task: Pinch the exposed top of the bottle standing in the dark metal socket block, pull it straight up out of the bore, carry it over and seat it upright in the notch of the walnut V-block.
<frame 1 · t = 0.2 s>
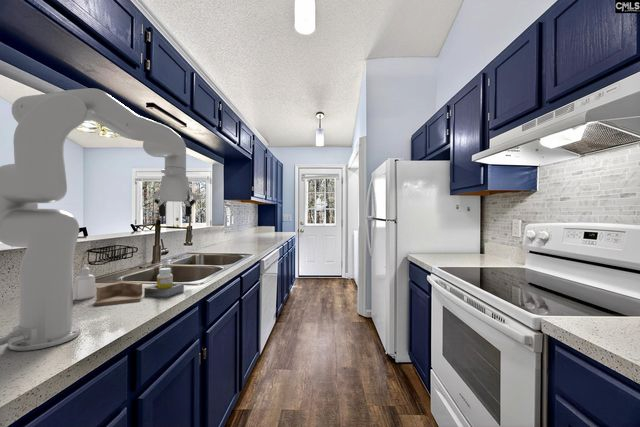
hand: (175, 216, 115), 30 cm above the counter, tool pointing down, fingers open, 9 cm apart
supplement bottle: (164, 294, 112), resting in socket block
socket block: (164, 293, 112), on the counter
v block: (120, 299, 104), on the counter
eye dropper bottle: (84, 298, 105), on the counter
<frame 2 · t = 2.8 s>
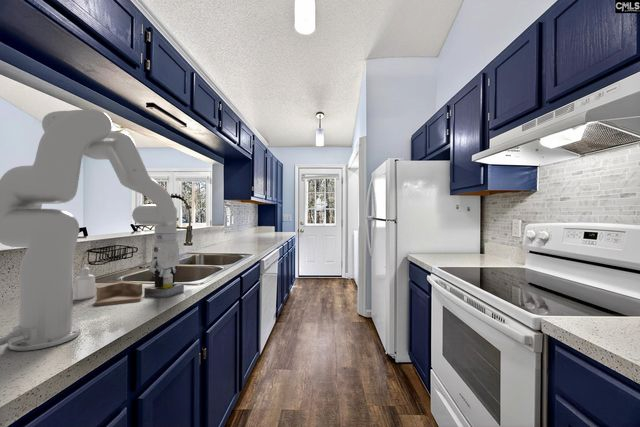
hand: (164, 284, 112), 4 cm above the counter, tool pointing down, fingers closed on supplement bottle, 5 cm apart
supplement bottle: (164, 294, 112), resting in socket block, touching gripper
everything else where it was.
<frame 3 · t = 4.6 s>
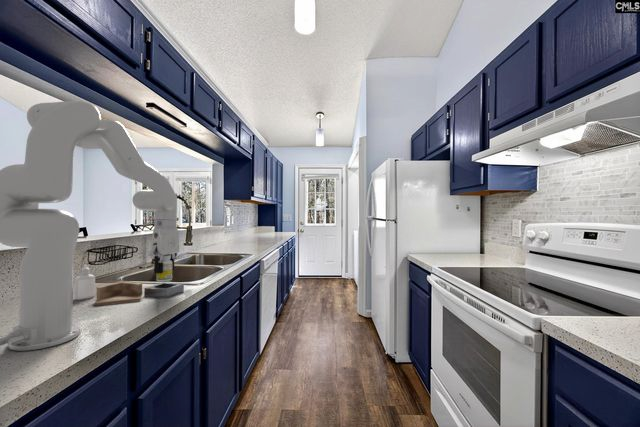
hand: (164, 271, 112), 9 cm above the counter, tool pointing down, fingers closed on supplement bottle, 5 cm apart
supplement bottle: (164, 281, 112), point 5 cm above the counter, touching gripper
everything else where it was.
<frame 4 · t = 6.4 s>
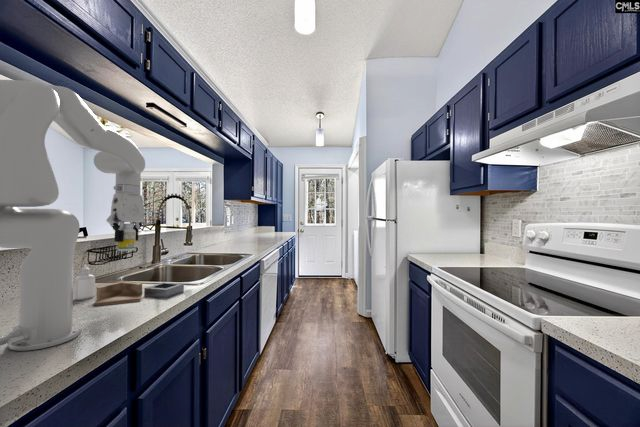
hand: (126, 240, 105), 21 cm above the counter, tool pointing down, fingers closed on supplement bottle, 5 cm apart
supplement bottle: (126, 250, 105), point 17 cm above the counter, touching gripper
everything else where it was.
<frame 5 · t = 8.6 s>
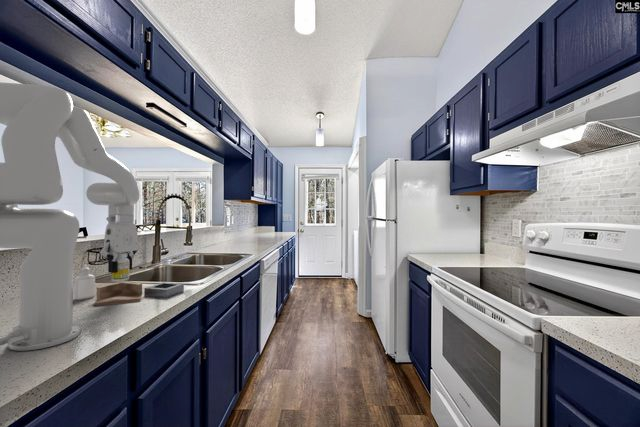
hand: (120, 270, 104), 10 cm above the counter, tool pointing down, fingers closed on supplement bottle, 5 cm apart
supplement bottle: (120, 280, 104), point 7 cm above the counter, touching gripper
everything else where it was.
when the fingers open (6 cm above the counter, at t = 10.3 s): supplement bottle drops 2 cm, resting on v block.
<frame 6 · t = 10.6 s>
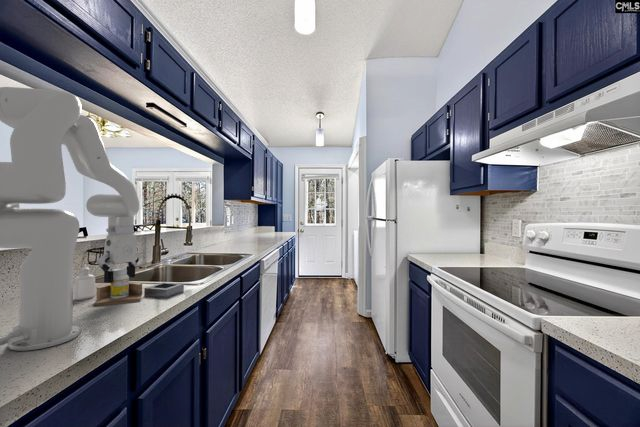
hand: (120, 279, 104), 7 cm above the counter, tool pointing down, fingers open, 8 cm apart
supplement bottle: (119, 297, 104), point 1 cm above the counter, touching v block
everything else where it was.
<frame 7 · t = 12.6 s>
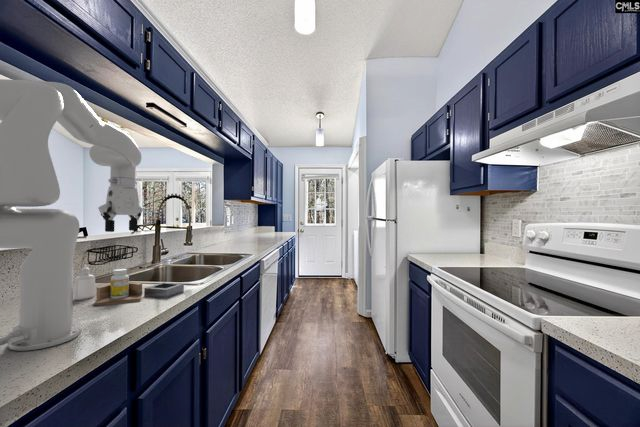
hand: (121, 231, 105), 24 cm above the counter, tool pointing down, fingers open, 9 cm apart
nothing on the counter moved.
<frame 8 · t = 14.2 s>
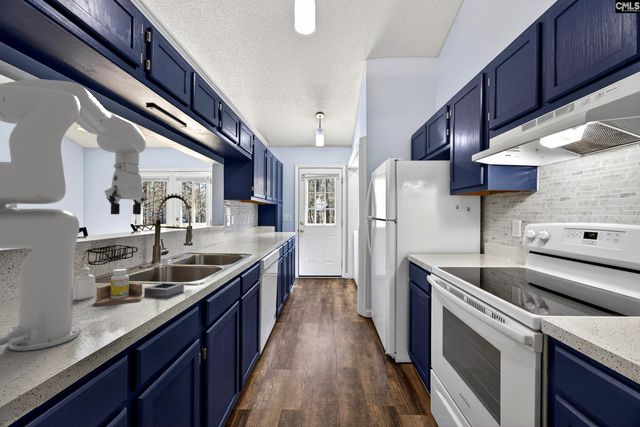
hand: (126, 214, 111), 30 cm above the counter, tool pointing down, fingers open, 9 cm apart
nothing on the counter moved.
at the end: supplement bottle 0.6 cm from the v block (horizontally); supplement bottle tilted 0°; supplement bottle touching v block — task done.
